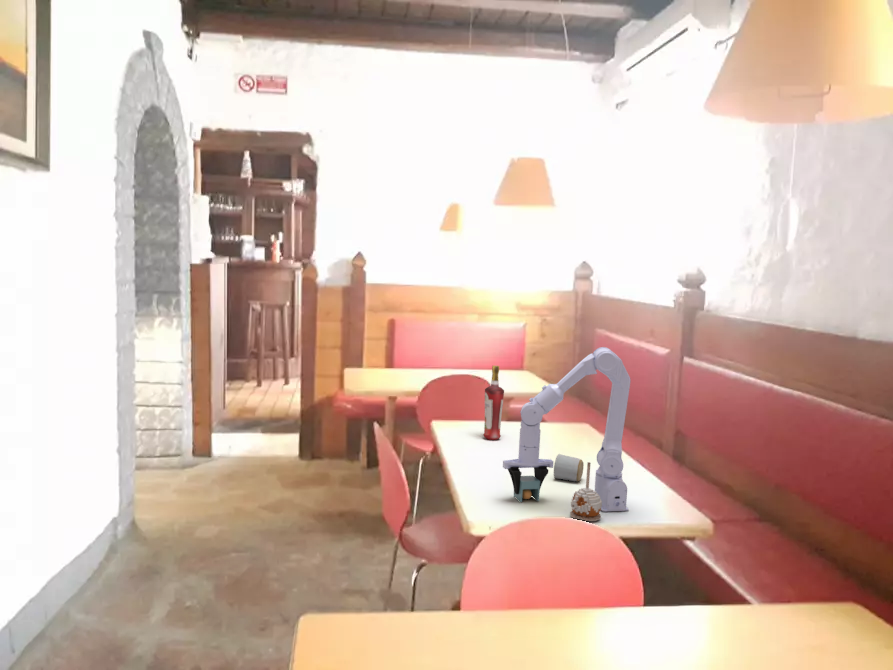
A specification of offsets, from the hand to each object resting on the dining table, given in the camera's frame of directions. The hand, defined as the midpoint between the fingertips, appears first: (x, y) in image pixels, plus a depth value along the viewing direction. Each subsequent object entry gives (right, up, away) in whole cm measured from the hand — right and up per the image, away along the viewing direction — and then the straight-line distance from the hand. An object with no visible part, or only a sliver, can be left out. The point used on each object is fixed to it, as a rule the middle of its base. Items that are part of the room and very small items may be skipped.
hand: (526, 492), depth 212 cm
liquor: (-5, +5, +74) cm, 75 cm away
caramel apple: (+14, -4, -13) cm, 20 cm away
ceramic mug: (+16, -1, +24) cm, 29 cm away
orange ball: (0, -2, 0) cm, 2 cm away
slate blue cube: (0, -2, 0) cm, 2 cm away
